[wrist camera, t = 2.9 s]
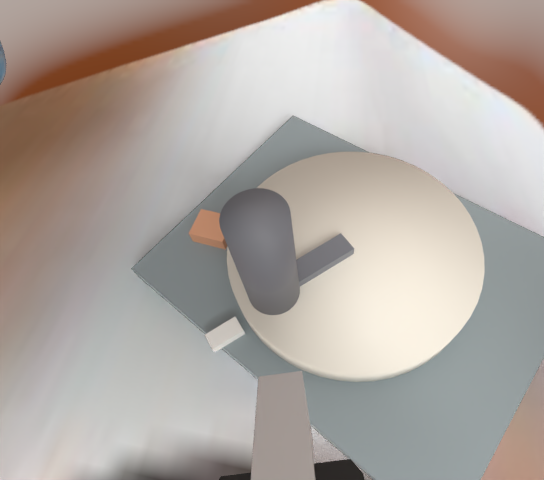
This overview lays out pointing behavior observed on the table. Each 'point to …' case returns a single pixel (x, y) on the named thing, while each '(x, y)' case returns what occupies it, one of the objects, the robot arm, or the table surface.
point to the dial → (353, 264)
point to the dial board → (393, 391)
